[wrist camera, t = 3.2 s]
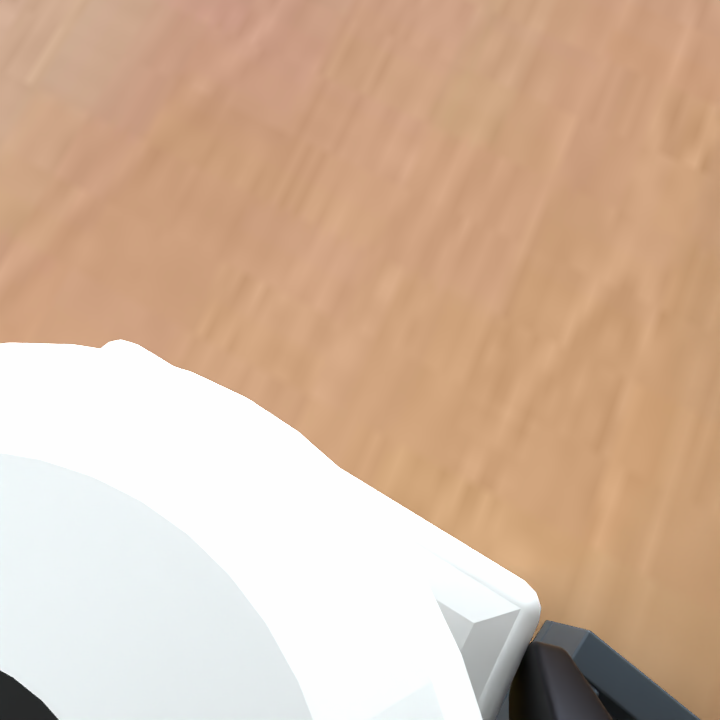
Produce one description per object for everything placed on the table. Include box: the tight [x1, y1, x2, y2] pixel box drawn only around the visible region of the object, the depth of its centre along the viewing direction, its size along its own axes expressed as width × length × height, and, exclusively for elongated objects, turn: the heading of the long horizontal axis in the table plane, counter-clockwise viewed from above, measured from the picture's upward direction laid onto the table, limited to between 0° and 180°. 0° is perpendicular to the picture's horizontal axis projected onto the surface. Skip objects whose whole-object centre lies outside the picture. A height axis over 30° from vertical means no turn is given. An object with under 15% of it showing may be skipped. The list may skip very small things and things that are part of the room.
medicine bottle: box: [0, 340, 541, 720], centre depth 8 cm, size 7×7×12 cm
